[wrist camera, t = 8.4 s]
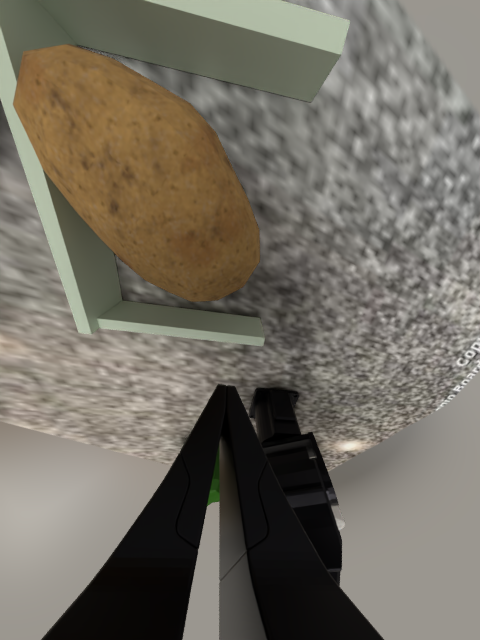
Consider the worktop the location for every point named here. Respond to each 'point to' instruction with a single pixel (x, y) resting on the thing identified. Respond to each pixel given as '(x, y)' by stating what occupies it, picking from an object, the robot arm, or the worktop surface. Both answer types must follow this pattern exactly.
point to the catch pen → (178, 53)
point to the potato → (139, 171)
